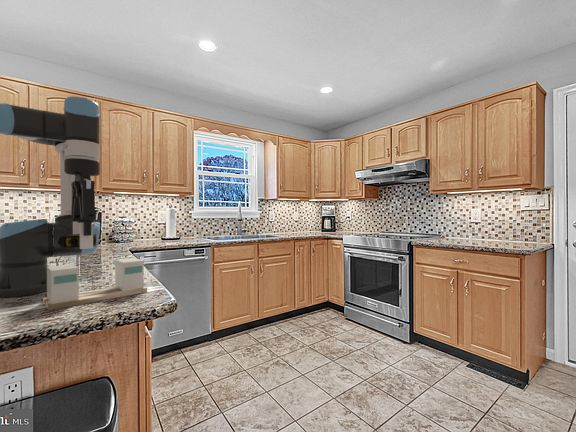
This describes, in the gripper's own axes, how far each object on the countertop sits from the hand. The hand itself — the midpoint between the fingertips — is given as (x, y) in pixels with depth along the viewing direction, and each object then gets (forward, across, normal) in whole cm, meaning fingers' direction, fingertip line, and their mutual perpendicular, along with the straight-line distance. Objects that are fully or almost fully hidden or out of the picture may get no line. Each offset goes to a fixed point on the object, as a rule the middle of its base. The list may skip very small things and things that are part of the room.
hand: (82, 246), depth 76 cm
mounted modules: (+16, -12, +6) cm, 21 cm away
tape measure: (+1, 0, -1) cm, 1 cm away
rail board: (+17, -12, +6) cm, 22 cm away
